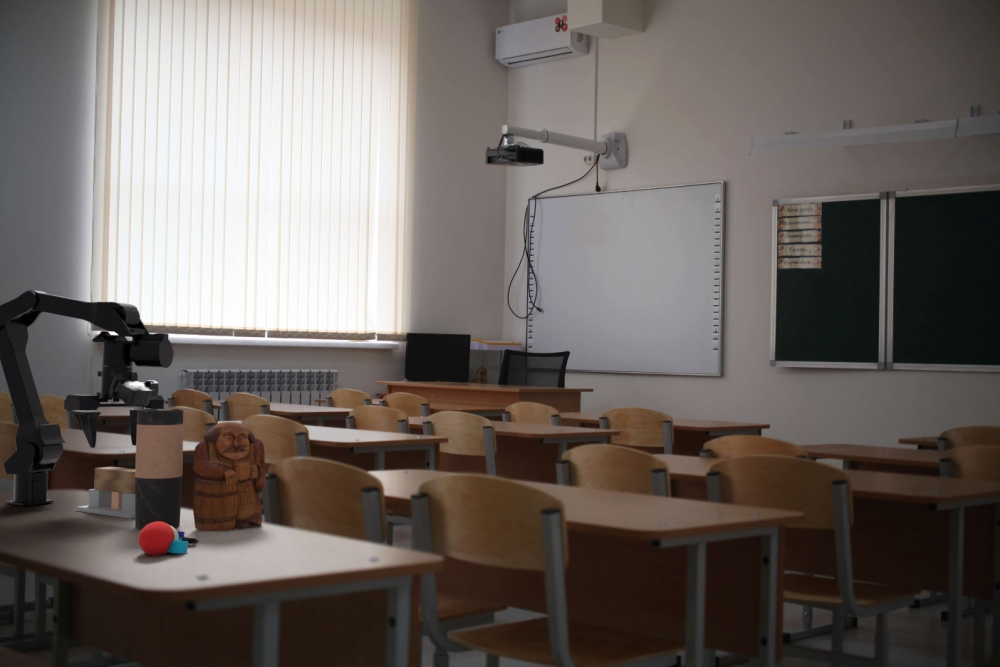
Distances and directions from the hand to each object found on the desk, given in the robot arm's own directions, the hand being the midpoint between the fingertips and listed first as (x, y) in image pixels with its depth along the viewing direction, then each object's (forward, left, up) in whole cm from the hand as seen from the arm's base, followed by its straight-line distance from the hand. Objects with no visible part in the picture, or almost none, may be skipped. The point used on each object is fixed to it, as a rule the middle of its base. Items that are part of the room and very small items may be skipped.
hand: (114, 446), depth 193 cm
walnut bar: (+8, -4, -8) cm, 11 cm away
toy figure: (+46, -24, -12) cm, 53 cm away
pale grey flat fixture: (+8, -3, -12) cm, 14 cm away
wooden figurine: (+38, -4, -12) cm, 40 cm away
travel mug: (+28, -11, -12) cm, 32 cm away
